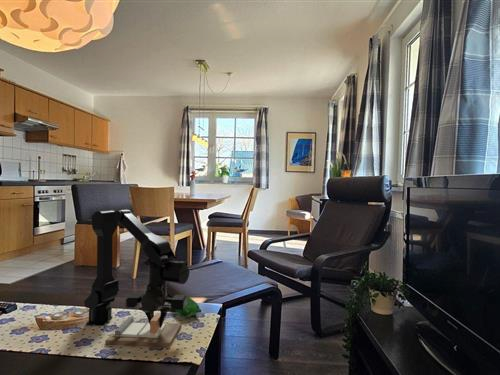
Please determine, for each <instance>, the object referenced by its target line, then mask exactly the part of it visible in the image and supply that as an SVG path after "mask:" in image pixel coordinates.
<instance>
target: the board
mask: <svg viewBox="0 0 500 375" xmlns="http://www.w3.org/2000/svg"><path fill="white" fill-rule="evenodd" d="M125 321H126V320H124V321H123V322H125ZM132 323H147V324H148V323H149V321H133V322H132ZM163 324H166V326H165V328H164V329H163V331H162V332H161V333H160V335H159V336H158V338H149V337H139V336H138V337H120V336H113V333H114V332H115V330H114V331H113V332H112V333H111V334H110V335H109V336H108V337H107V338H105V339H104V340H105V341H104V342H105V343H104V344H105V346H121V347H138V348H139V347H140V348H141V347H144V348H160V347H165V348H164V349H166V348H167V349H171V347H170V346H172V345H173V343H174V341H175V340H176V338H175V337H177V336H178V335H179V332H180V331H181V329H182V323H176V322H175V323H173V322H172V323H171V322H163ZM174 339H175V340H174ZM168 347H169V348H168Z"/></svg>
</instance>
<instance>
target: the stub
mask: <svg viewBox="0 0 500 375" xmlns="http://www.w3.org/2000/svg"><path fill="white" fill-rule="evenodd" d="M160 315H161V312H156V313H154V317H153V318H152V319H151V320H150V324H149V323H148V324H147V325H146V326H145V327H144V329H143V330H142V331H141V332H140V333H139V337H149V338H158V336H159V335H160V333H161V332H162V331H163V329H164V328H165V326H166V324H163V325H162V327H161V328H160Z"/></svg>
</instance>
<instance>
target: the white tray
mask: <svg viewBox="0 0 500 375" xmlns="http://www.w3.org/2000/svg"><path fill="white" fill-rule="evenodd" d="M134 319H135V317H134V316H129V317H128V318H126V319H125V320H124V321H125V322H124V321H123V322H122V323H121V324H120V325H119V326H118V327H117V328H116V329H115V330H114V331H115V332H114V331H113V332H114V333H113V332H112V333H113V336H120V337H138V336H139V333H140V332H141V331H142V330H143V329H144V327H145V326H146V325H147V323H132V322H135V321H134Z"/></svg>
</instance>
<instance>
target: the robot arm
mask: <svg viewBox="0 0 500 375" xmlns="http://www.w3.org/2000/svg"><path fill="white" fill-rule="evenodd" d="M118 223H120V224H121V225H122V227H124V229H126V231H127V232H128V233H130V234H131V235H132V237H133V238H134V239H136V240H137V242H139V244H140V246H141V249H142V252H143V253H144V254H145V256H146V257H147V259H146V260H145V261H144V262H143V265H144V266H148V283H147V285H146V290H145V293H144V292H142V293H141V292H133V293H132V294H130V295H129V296H128V297H127V298H126V299H125V304H124V305H125V308H132V309H133V308H136V307H137V306H138V304H139V305H140V306H139V308H138V309H139V310H140V311H142V312H144V314H145V316H146V318H147V320H148V321H147V322H149V324H150V320H151V319H152V318H153V317H154V316H155V312H156V311H157V310H158V309H159V308H160V309H159V313H161V315H160V328H161V327H162V325H163V323H165V320H166V317H167V314H168V312H170V311H171V310H174V309H178V310H182V309H184V307H185V306H186V304H187V296H188V295H186V294H175V295H174V296H173V297H167V296H168V292H167V288H168V287H167V286H168V285H167V284H169V283H174V284H179V285H184V284H186V283H187V282H188V279H189V278H190V270H189V267H188V266H187V265H186V263H187V262H186V261H184V260H183V261H182V260H181V261H178V258H177V256H176V255H175V253H174V251H173V248H171V243H170V242H169V241H168V240H167V239H165V238H164V237H162V236H160V235H157V234H155V233H153V232H152V231H151V230H149V229H148V228H147V226H145V225H144V223H142V222H141V221H140V220H139V219H138V218H137V217H136V216H135V214H133V212H132V211H131V210H129V209H119V210H111V209H110V210H99V211H95V212H94V213H93V214H91V227H92V231H93V233H94V234H95V235H96V236H97V238H96V240H97V241H96V245H97V246H96V277H95V280H94V281H93V283H92V285H91V289H90V290H91V291H90V294H89V296H88V297H87V298H86V299H84V301H83V303H84V308H86V309H88V321H87V322H86V323H85V325H86V326H99V327H100V326H103V327H104V326H105V325H106V324H107V323H109V322H110V321H111V320H112V319H113V316H112V315H113V314H112V310H113V308H112V307H111V303H113V302H115V300H116V297H117V296H118V292H119V291H120V289H119V284H120V282H119V280H118V279H116V278H115V277H114V275H113V256H114V255H113V246H114V245H113V240H114V238H113V237H114V234H115V232H116V230H117V229H118Z"/></svg>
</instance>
